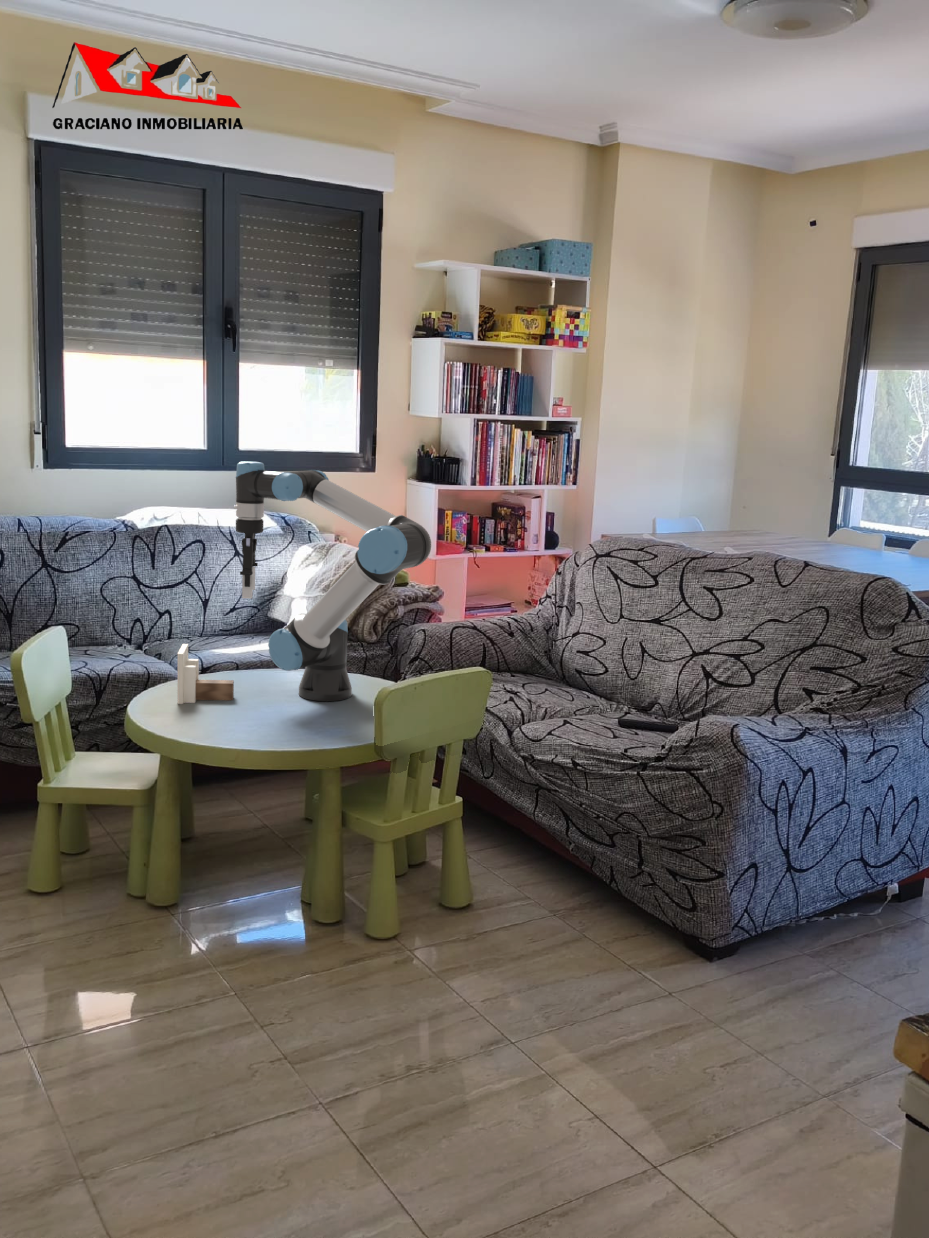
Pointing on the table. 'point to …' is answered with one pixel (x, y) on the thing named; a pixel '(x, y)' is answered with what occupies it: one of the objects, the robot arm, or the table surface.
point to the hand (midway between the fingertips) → (248, 593)
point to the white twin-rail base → (187, 676)
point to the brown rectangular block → (214, 689)
